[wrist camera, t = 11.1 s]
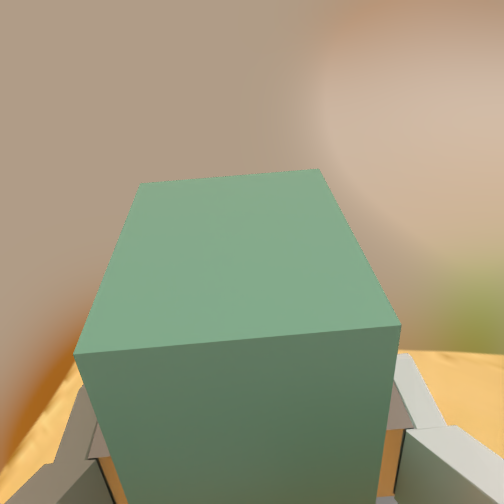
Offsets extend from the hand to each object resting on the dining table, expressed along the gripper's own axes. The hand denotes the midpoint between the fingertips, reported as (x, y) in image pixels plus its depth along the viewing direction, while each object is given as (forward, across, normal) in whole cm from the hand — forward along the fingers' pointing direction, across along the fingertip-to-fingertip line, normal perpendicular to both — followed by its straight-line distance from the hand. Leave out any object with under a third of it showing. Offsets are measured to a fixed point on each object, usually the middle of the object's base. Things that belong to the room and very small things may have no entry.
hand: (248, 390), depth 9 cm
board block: (-1, 0, +6) cm, 6 cm away
